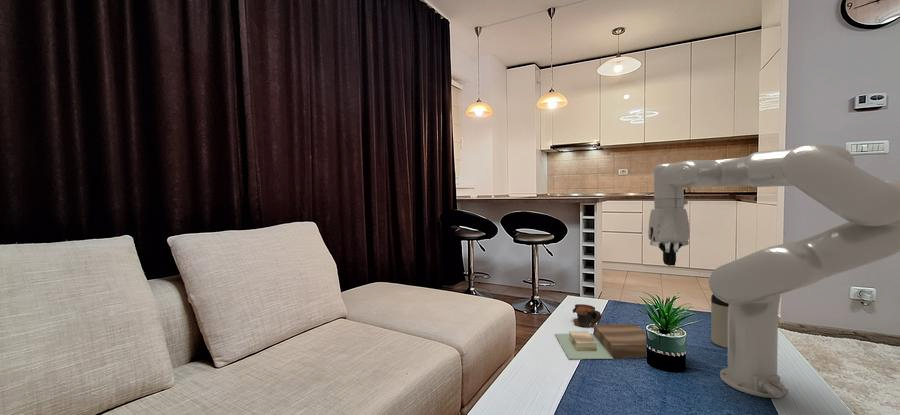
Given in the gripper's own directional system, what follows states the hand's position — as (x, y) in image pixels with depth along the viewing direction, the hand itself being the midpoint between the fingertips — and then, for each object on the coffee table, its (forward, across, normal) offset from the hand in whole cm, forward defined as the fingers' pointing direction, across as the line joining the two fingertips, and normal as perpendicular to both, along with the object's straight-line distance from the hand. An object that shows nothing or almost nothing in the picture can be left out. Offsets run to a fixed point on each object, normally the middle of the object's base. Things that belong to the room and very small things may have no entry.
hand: (669, 264), depth 106 cm
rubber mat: (+27, +25, -4) cm, 37 cm away
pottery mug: (+27, +18, -23) cm, 40 cm away
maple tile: (+24, +25, -5) cm, 35 cm away
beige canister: (+27, -20, -5) cm, 34 cm away
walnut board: (+27, +12, -4) cm, 30 cm away
